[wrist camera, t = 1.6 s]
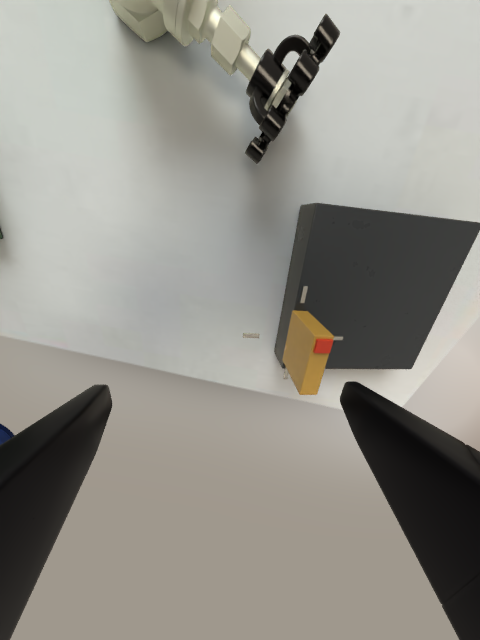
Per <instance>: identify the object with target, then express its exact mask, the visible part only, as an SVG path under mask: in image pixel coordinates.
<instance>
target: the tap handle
mask: <svg viewBox="0 0 480 640" xmlns="http://www.w3.org/2000/svg"><path fill="white" fill-rule="evenodd" d="M333 339H334V336H333V335H332V334H331V333H330V332H329V331H328V330H327V329H326V328H325V327H324V326H323V325H322V324H321V323H320V322H319V321H318V320H317V319H316V318H315V317H313V316H312V315H311V314H310V313H309V312H308V311H295V310H293V311H292V315H291V320H290V325H289V330H288V335H287V340H286V345H285V349H284V354H283V359H282V361H283V363H284V365H285V367H286V368H287V370H288V372H289V374H290V376H291V378H292V380H293V382H294V384H295V386H296V388H297V390H298V392H299V394H300V395H316V394H317V393H318V389H319V386H320V383H321V379H322V376H323V373H324V369H325V366H326V363H327V359H328V356H329V353H330V351H331V348H332V344H333Z"/></svg>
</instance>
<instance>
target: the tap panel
mask: <svg viewBox="0 0 480 640" xmlns="http://www.w3.org/2000/svg"><path fill="white" fill-rule="evenodd" d="M479 231H480V223H478V222H470V221H462V220H454V219H446V218H437V217H429V216H421V215H413V214H404V213H396V212H388V211H380V210H371V209H363V208H355V207H347V206H338V205H330V204H322V203H313V204H307V205H301V208H300V213H299V219H298V224H297V230H296V235H295V241H294V246H293V252H292V257H291V263H290V268H289V274H288V279H287V285H286V290H285V296H284V301H283V307H282V312H281V318H280V323H279V329H278V334H277V340H276V345H275V351H274V352H275V354H276V356H277V358H278V360H279V362H280V365H281V367H282V368H285V373H284V379H287V378H288V374H289V372H288V370H287V368H286V367H285V365H284V363H283V361H282V359H283V354H284V349H285V345H286V340H287V335H288V330H289V325H290V320H291V315H292V311H293V310H295V311H308V312H309V313H310V314H311V315H312V316H313V317H315V318H316V319H317V320H318V321H319V322H320V323H321V324H322V325H323V326H324V327H325V328H326V329H327V330H328V331H329V332H330V333H331V334H332V335H333V336H334V339H333V344H332V348H331V351H330V353H329V356H328V359H327V363H326V366H325V369H412V367H413V365H414V363H415V361H416V359H417V357H418V355H419V353H420V351H421V349H422V346H423V344H424V342H425V340H426V338H427V336H428V334H429V332H430V330H431V328H432V326H433V324H434V322H435V320H436V318H437V316H438V314H439V312H440V310H441V308H442V306H443V304H444V302H445V300H446V298H447V296H448V294H449V292H450V290H451V288H452V285H453V283H454V281H455V279H456V277H457V275H458V273H459V271H460V269H461V267H462V265H463V263H464V261H465V259H466V257H467V255H468V253H469V251H470V249H471V247H472V245H473V243H474V241H475V239H476V237H477V235H478V233H479ZM259 335H260V334H253V333H243V338H259Z"/></svg>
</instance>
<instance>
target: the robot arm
mask: <svg viewBox="0 0 480 640" xmlns="http://www.w3.org/2000/svg"><path fill="white" fill-rule="evenodd" d="M340 402H341V405H342V408H343V410H344V413H345V415H346V417H347V420H348V422H349V425H350V427H351V430H352V432H353V434H354V437H355V439H356V441H357V443H358V445H359V447H360V449H361V451H362V453H363V455H364V457H365V459H366V461H367V463H368V464H369V466H370V468H371V470H372V472H373V474H374V476H375V478H376V480H377V482H378V484H379V486H380V488H381V489H382V491H383V493H384V495H385V497H386V499H387V501H388V503H389V505H390V507H391V509H392V511H393V513H394V514H395V516H396V518H397V520H398V522H399V524H400V526H401V528H402V530H403V532H404V534H405V536H406V538H407V539H408V541H409V543H410V545H411V547H412V549H413V551H414V553H415V555H416V557H417V558H418V561H419V563H420V564H421V566H422V568H423V570H424V572H425V574H426V576H427V578H428V580H429V582H430V583H431V586H432V588H433V589H434V591H435V593H436V595H437V597H438V599H439V601H440V603H441V604H442V607H443V609H444V611H445V613H446V615H447V617H448V619H449V620H450V622H451V624H452V626H453V628H454V630H455V632H456V634H457V636H458V638H459V640H480V452H479V451H477V450H476V449H474V448H472V447H470V446H469V445H465V444H464V443H463V442H461V441H460V440H458V439H456V438H454V437H453V436H451V435H449V434H447V433H446V432H444V431H442V430H440V429H438V428H437V427H435V426H433V425H432V424H430V423H428V422H426V421H425V420H423V419H421V418H419V417H418V416H416V415H414V414H412V413H411V412H409V411H407V410H405V409H404V408H402V407H400V406H398V405H397V404H395V403H393V402H391V401H390V400H388V399H386V398H384V397H383V396H381V395H379V394H377V393H376V392H374V391H372V390H370V389H369V388H367V387H365V386H363V385H362V384H360V383H358V382H346V383H345V385H344V387H343V390H342V393H341V396H340ZM111 408H112V400H111V395H110V391H109V387H108V385H94V386H92V387H90V388H89V389H87V390H85V391H84V392H82V393H81V394H79V395H78V396H76V397H75V398H73V399H71V400H70V401H68V402H67V403H65V404H64V405H62V406H61V407H59V408H58V409H56V410H54V411H53V412H51V413H50V414H48V415H47V416H45V417H43V418H42V419H40V420H39V421H37V422H36V423H34V424H32V425H31V426H30V427H28V428H26V429H25V430H23V431H22V432H20V433H18V434H17V435H15V436H14V437H12V438H11V439H9V440H7V441H6V442H4V443H3V444H1V445H0V640H10V638H11V636H12V634H13V632H14V630H15V628H16V625H17V623H18V621H19V619H20V617H21V615H22V612H23V610H24V608H25V606H26V604H27V601H28V599H29V597H30V595H31V593H32V591H33V589H34V586H35V584H36V582H37V580H38V578H39V576H40V573H41V571H42V569H43V567H44V564H45V563H46V560H47V558H48V556H49V554H50V552H51V550H52V548H53V545H54V543H55V541H56V539H57V537H58V535H59V532H60V530H61V528H62V526H63V524H64V521H65V519H66V517H67V515H68V513H69V511H70V509H71V506H72V504H73V502H74V500H75V498H76V495H77V493H78V491H79V489H80V486H81V485H82V482H83V480H84V478H85V476H86V474H87V472H88V470H89V467H90V465H91V463H92V461H93V459H94V456H95V454H96V451H97V449H98V446H99V443H100V440H101V437H102V435H103V432H104V429H105V426H106V423H107V420H108V417H109V414H110V411H111Z"/></svg>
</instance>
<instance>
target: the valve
mask: <svg viewBox="0 0 480 640" xmlns="http://www.w3.org/2000/svg"><path fill="white" fill-rule="evenodd" d="M109 2H110V4H111V6H112V8H113V10H114V12H115V13H116V15H117V16H118V17H119V18H120V19H121V20H122V21H123V22H124V23H125V24H126V25H127V26H128V27H129V28H130V29H131V30H132V31H134V32H135V33H136V34H137V35H138V36H139V37H140V38H141V39H143V40H144V41H145V42H149V41H152V40H154V39H156V38H158V37H160V36H162V35H163V34H165V33H166V32H167V31H169V32H170V33H171V34H172V35H173V36H174V37H175V38H176V39H177V40H178V41H179V42H180V43H181V44H182V45H183V46H188V45H189V44H190V43H191V42H192V41H193V39H195V40H196V41H197V42H198V43H199V44H200V43H202V42H203V41H204V40H205V39H207V40H208V41H209V42H210V43H211V57H212V58H213V59H214V60H215V61H216V62H217V63H218V64H219V65H220V66H221V67H222V68H223V69H224V70H225V71H226V72H227V73H228V74H229V75H230V76H231V75H232V74H234V72H235V71H236V69H237V68H238V69H239V71H240V72H241V73H242V74H243V75H244V76H245V77H246V78H247V79H248V80H249V81H250V82H249V84H248V87H247V90H246V93H247V95H248V96H249V97H250V102H249V105H250V110H251V113H252V116H253V118H254V119H255V121H256V122H257V123H258V124H259V125H260V126H259V129H260V130H261V131H262V134H261V135H260V137H259V139H258V138H257V137H255V138H254V139H253V141H251V143H250V144H249V146H248V148H247V150H246V151H245V154H246V155H247V156H248V157H250V158H251V159H252V160H253V161H254V162H255V163H256V164H258V163H259V161H260V160H261V158H262V157H263V155H264V154H265V152H266V150H267V149H268V145H269V142H270V141H274V140H275V138H276V137H277V136H278V134H279V132H280V131H281V129H282V128H283V126H284V124H285V123H286V121H287V119H286V117H287V116H288V114H289V113H290V111H291V110H292V108H293V107H294V105H295V103H296V102H297V99H298V98H299V96H302V95H303V94H304V93H305V92H306V90H307V89H308V87H309V86H310V84H311V82H312V81H313V79H314V78H315V76H316V74H317V73H318V71H319V64H320V63H322V62H323V60H324V59H325V58H326V56H327V55H328V53H329V52H330V50H331V48H332V47H333V45H334V44H335V42H336V40H337V39H338V37H339V35H340V31H339V30H338V28H337V27H336V26H335V24H334V23H333V22H332V20H331V19H330V17H329V16H328V15H327V14H325V15H324V17H323V19H322V20H321V22H320V24H319V25H318V27H317V29H316V31H315V32H314V36H313V38H312V40H311V41H310V43H308V41H307V40H306V39H305V38H303V37H302V36H299V35H291V36H289V37H287V38H285V39H284V40H283V41H282V42H281V43H280V44H279V46H278V47H277V49H276V51H275V53H274V54H273V53H272V51H271V50H270V49H267V50H266V51H265V53H264V54H263V56H262V58H260V57H259V56H258V55H257V54H256V52H255V51H254V50H253V49H252V48H251V47H250V46H249V45H248V43H249V39H250V34H251V31H250V28H249V26H248V25H247V24H246V23H245V22H244V21H243V20H242V18H241V17H240V16H239V15H238V14H237V13H236V12H235V10H234V9H233V8H232V7H231V6H230V5H229V6H228V8H227V9H226V10H225V11H224V13H223V12H222V11H221V10H220V9H219V8H218V6H217V3H218V0H109ZM291 51H295V52H297V53H298V55H299V56H300V57H299V59H298V60H297V62H296V64H295V65H294V67H293V69H292V71H291V72H290V74H289V71H288V70H287V69H286V68H285V66H284V65H283V64H282V62H283V61H284V59H285V57H286V55H287V54H288V53H289V52H291ZM288 74H289V76H288ZM287 76H288V77H287ZM286 77H287V78H286ZM285 79H286V80H285ZM284 81H285V82H284Z"/></svg>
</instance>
